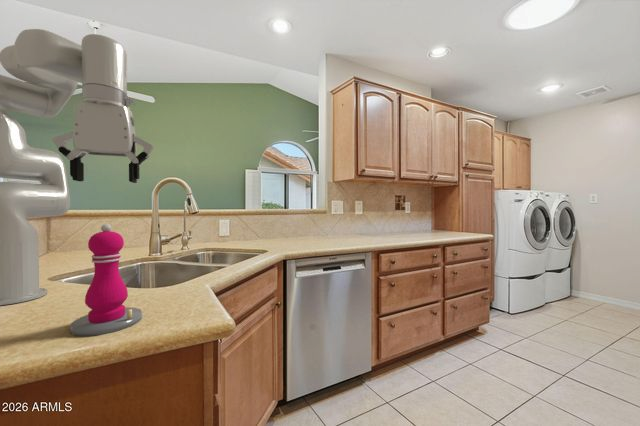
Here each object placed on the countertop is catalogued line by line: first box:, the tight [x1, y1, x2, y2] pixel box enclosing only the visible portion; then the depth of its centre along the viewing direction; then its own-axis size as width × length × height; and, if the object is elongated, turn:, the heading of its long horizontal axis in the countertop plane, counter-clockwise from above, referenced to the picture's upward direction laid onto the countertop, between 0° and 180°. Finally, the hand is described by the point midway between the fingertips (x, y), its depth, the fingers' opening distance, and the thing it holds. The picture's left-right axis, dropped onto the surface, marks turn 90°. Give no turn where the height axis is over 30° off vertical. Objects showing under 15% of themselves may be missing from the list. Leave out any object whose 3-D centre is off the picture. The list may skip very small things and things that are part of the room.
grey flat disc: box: [70, 306, 143, 337], centre depth 59 cm, size 12×12×3 cm
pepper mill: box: [84, 223, 129, 323], centre depth 59 cm, size 7×7×20 cm
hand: (106, 181), depth 58 cm, fingers open, 9 cm apart
